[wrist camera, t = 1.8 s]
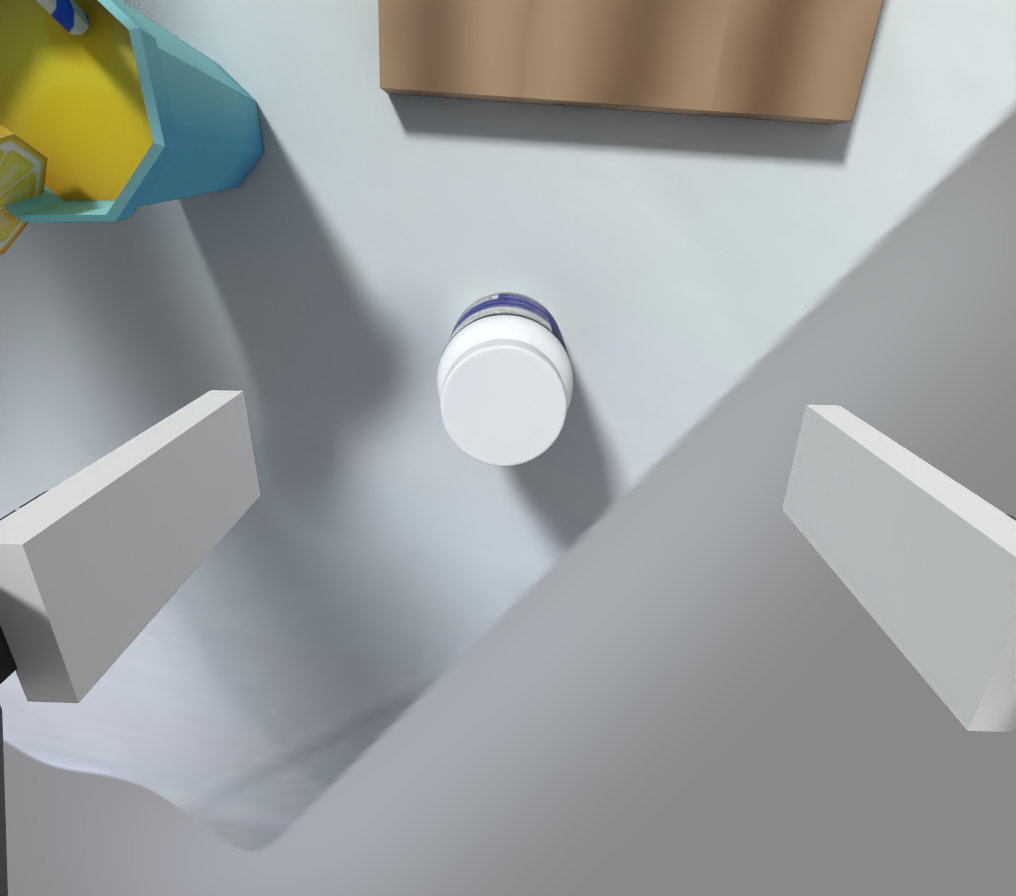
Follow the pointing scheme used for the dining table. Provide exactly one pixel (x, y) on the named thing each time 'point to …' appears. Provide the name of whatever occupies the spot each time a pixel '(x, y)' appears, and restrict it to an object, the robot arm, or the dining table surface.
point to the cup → (110, 115)
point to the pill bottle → (504, 380)
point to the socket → (635, 54)
